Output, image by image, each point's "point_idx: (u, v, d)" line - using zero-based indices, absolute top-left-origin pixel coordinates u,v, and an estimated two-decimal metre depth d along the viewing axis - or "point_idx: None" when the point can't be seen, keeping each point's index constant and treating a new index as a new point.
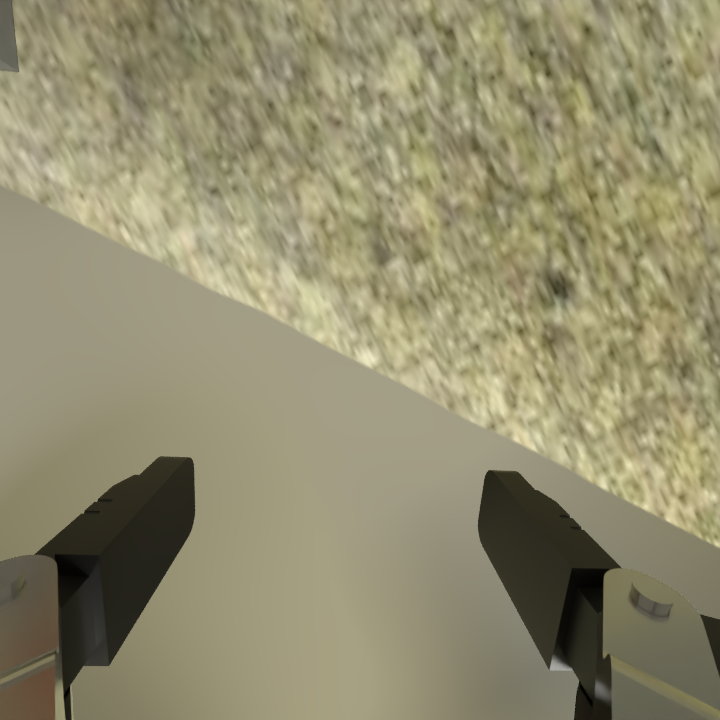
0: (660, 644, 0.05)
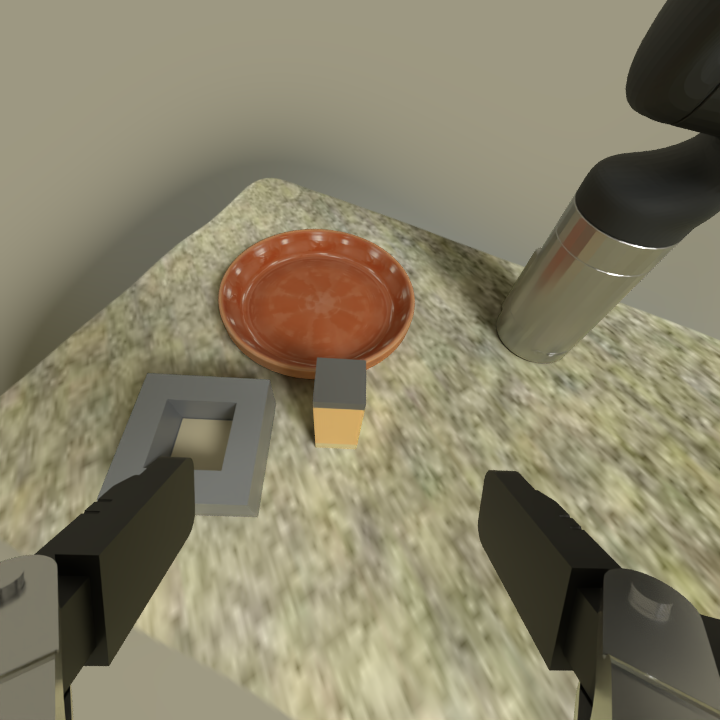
0: (660, 644, 0.05)
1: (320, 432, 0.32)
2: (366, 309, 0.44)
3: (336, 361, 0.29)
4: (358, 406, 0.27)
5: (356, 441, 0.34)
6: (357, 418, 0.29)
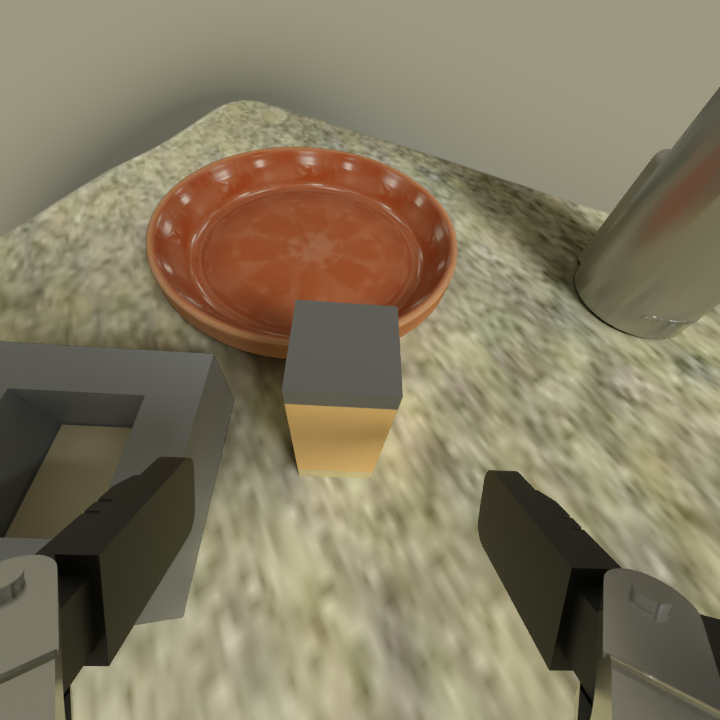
0: (660, 644, 0.05)
1: (305, 453, 0.17)
2: (381, 258, 0.29)
3: (336, 308, 0.14)
4: (386, 401, 0.12)
5: (372, 467, 0.18)
6: (379, 427, 0.14)
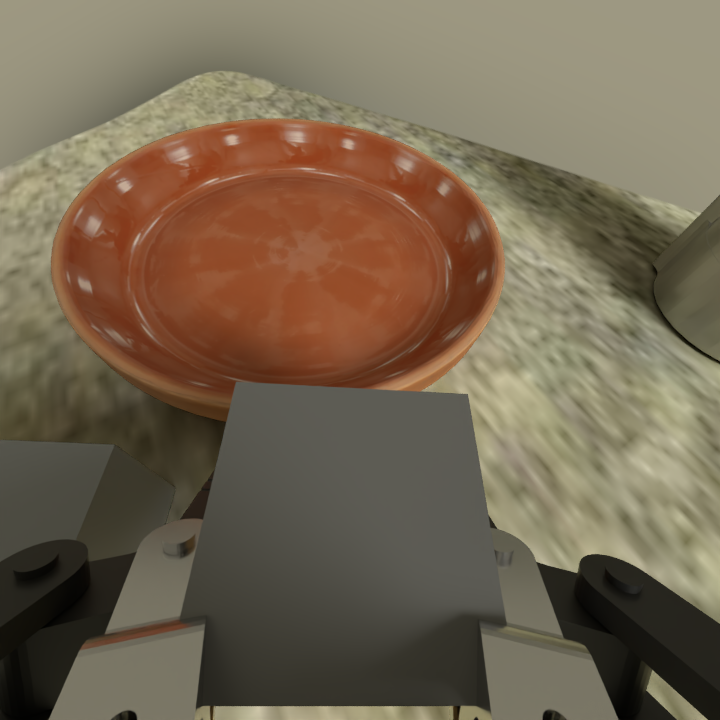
0: None
1: None
2: (395, 266, 0.21)
3: (329, 401, 0.06)
4: (465, 697, 0.04)
5: None
6: None
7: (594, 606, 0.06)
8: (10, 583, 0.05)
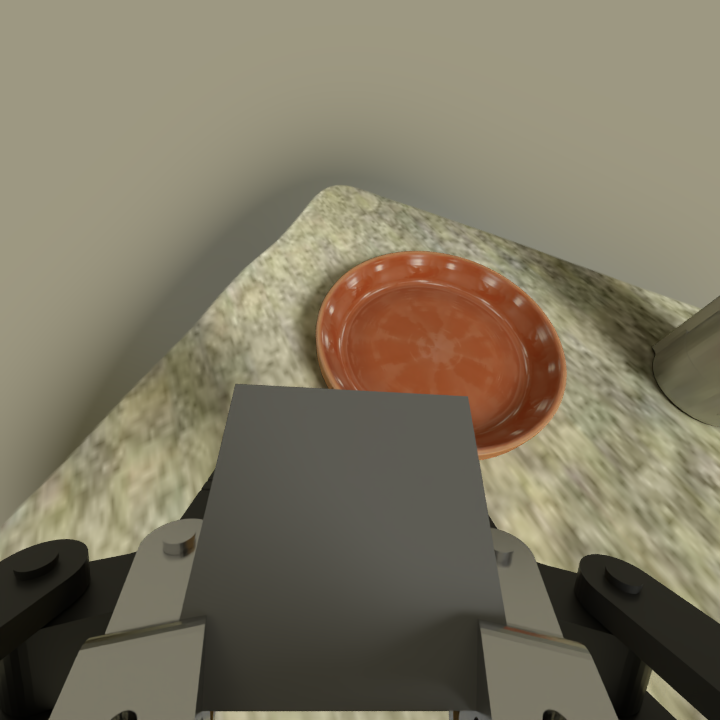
0: None
1: None
2: (493, 355, 0.35)
3: (329, 403, 0.06)
4: (466, 701, 0.04)
5: None
6: None
7: (594, 606, 0.06)
8: (10, 583, 0.05)
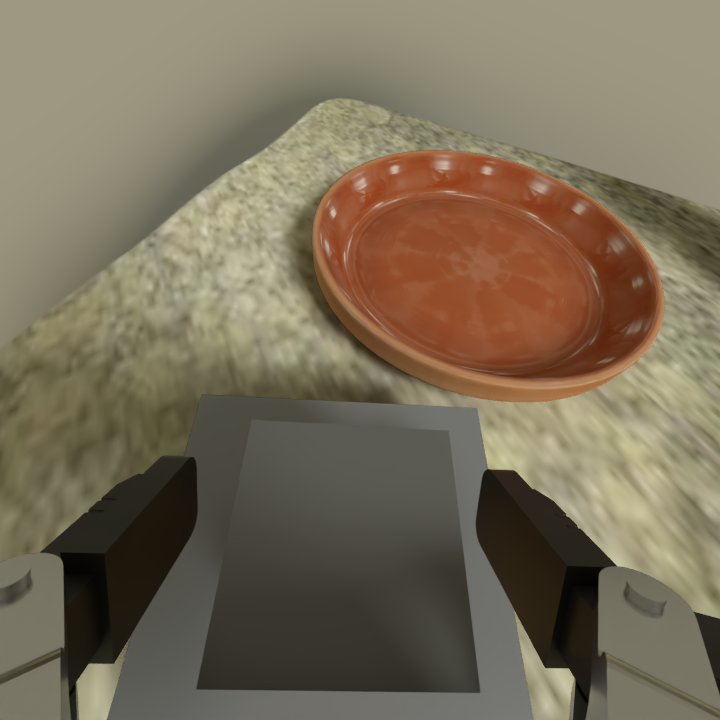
0: (653, 641, 0.05)
1: None
2: (552, 274, 0.26)
3: (330, 437, 0.07)
4: (438, 685, 0.05)
5: None
6: None
7: None
8: None
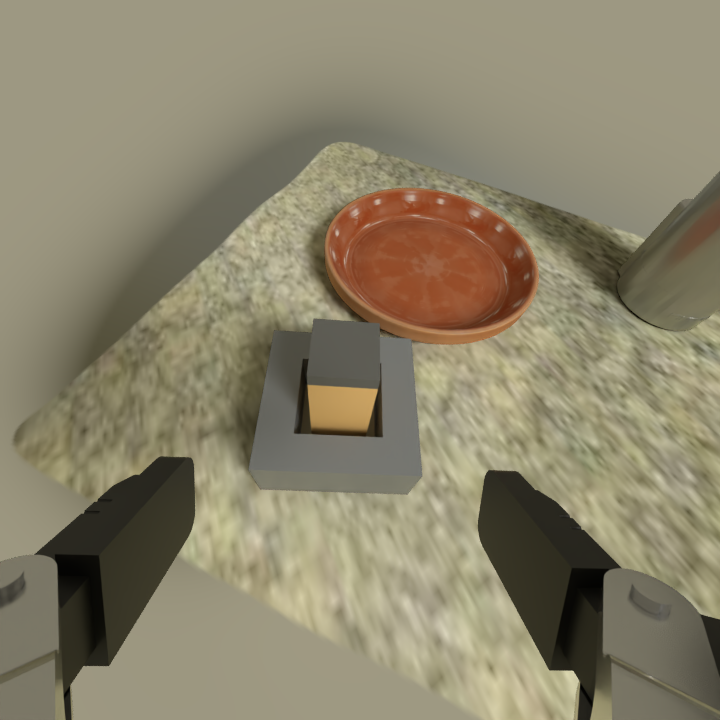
0: (660, 644, 0.05)
1: (318, 422, 0.24)
2: (478, 271, 0.40)
3: (339, 324, 0.21)
4: (370, 383, 0.20)
5: (364, 434, 0.26)
6: (367, 401, 0.22)
7: None
8: None
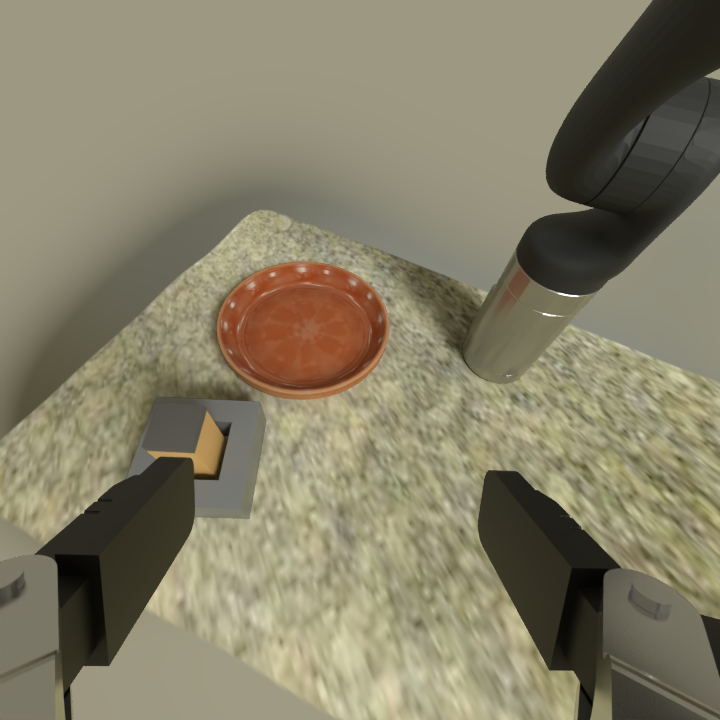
0: (660, 644, 0.05)
1: None
2: (347, 333, 0.50)
3: (175, 406, 0.31)
4: (186, 450, 0.30)
5: (214, 475, 0.36)
6: (195, 459, 0.32)
7: None
8: None
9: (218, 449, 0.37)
